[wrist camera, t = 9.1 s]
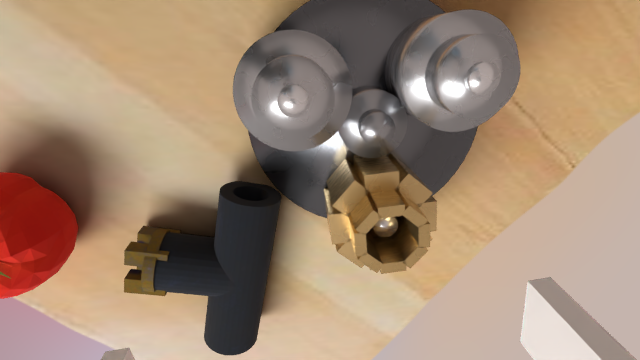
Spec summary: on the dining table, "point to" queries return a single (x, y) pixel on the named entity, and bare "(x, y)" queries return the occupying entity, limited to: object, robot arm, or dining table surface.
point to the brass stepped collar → (379, 212)
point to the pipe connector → (215, 264)
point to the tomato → (32, 234)
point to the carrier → (371, 91)
